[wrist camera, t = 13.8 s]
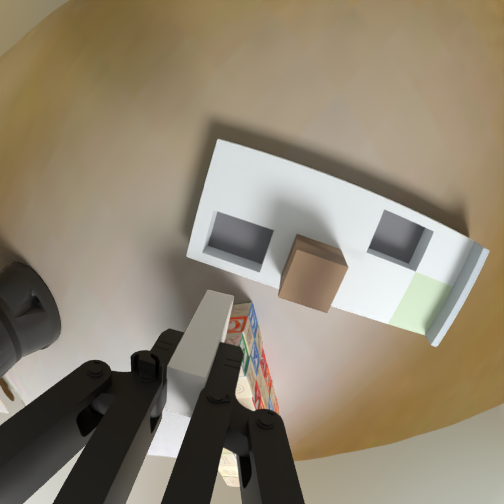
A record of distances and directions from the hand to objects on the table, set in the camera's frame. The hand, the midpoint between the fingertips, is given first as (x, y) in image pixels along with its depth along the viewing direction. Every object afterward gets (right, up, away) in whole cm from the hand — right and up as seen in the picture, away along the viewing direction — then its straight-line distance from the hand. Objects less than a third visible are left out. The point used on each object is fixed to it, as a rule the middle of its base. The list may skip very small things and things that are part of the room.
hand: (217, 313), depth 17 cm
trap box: (+11, +4, +14) cm, 18 cm away
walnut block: (+7, +2, +12) cm, 14 cm away
